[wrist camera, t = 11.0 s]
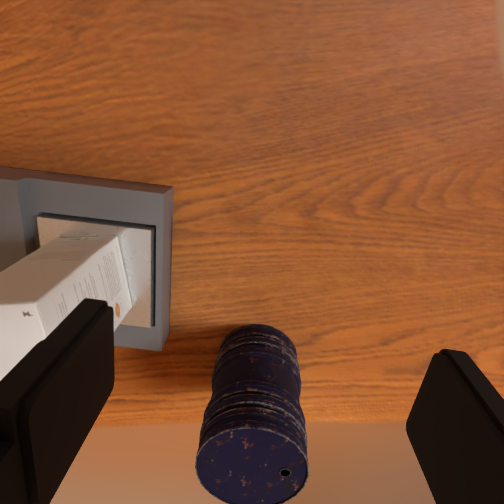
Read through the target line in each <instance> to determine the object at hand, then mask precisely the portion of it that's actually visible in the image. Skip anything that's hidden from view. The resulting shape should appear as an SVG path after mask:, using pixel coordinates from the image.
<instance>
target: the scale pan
mask: <svg viewBox="0 0 504 504" xmlns="http://www.w3.org/2000/svg"><path fill="white" fill-rule="evenodd" d="M37 223H38V232H39V240H40V248H41V247H42V246H44V245H46V244H47V243H49V242H50V241H52V240H54V239H56V238H77V237H100V236H117V237H118V241H119V246H120V251H121V255H122V260H123V265H124V270H125V274H126V280H127V284H128V289H129V294H130V299H131V304H132V307H131V309H130V310H129V312H128V313H127V314H126V316H125V317H124V319H123V320H122V321H121V323H120V324H123V325H131V326H139V327H148V328H151V326H152V324H153V322H154V321H155V307H156V225H148V224H139V223H131V222H123V221H114V220H106V219H97V218H89V217H80V216H72V215H63V214H55V213H44V214H42V215H40V216H38V217H37Z"/></svg>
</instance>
